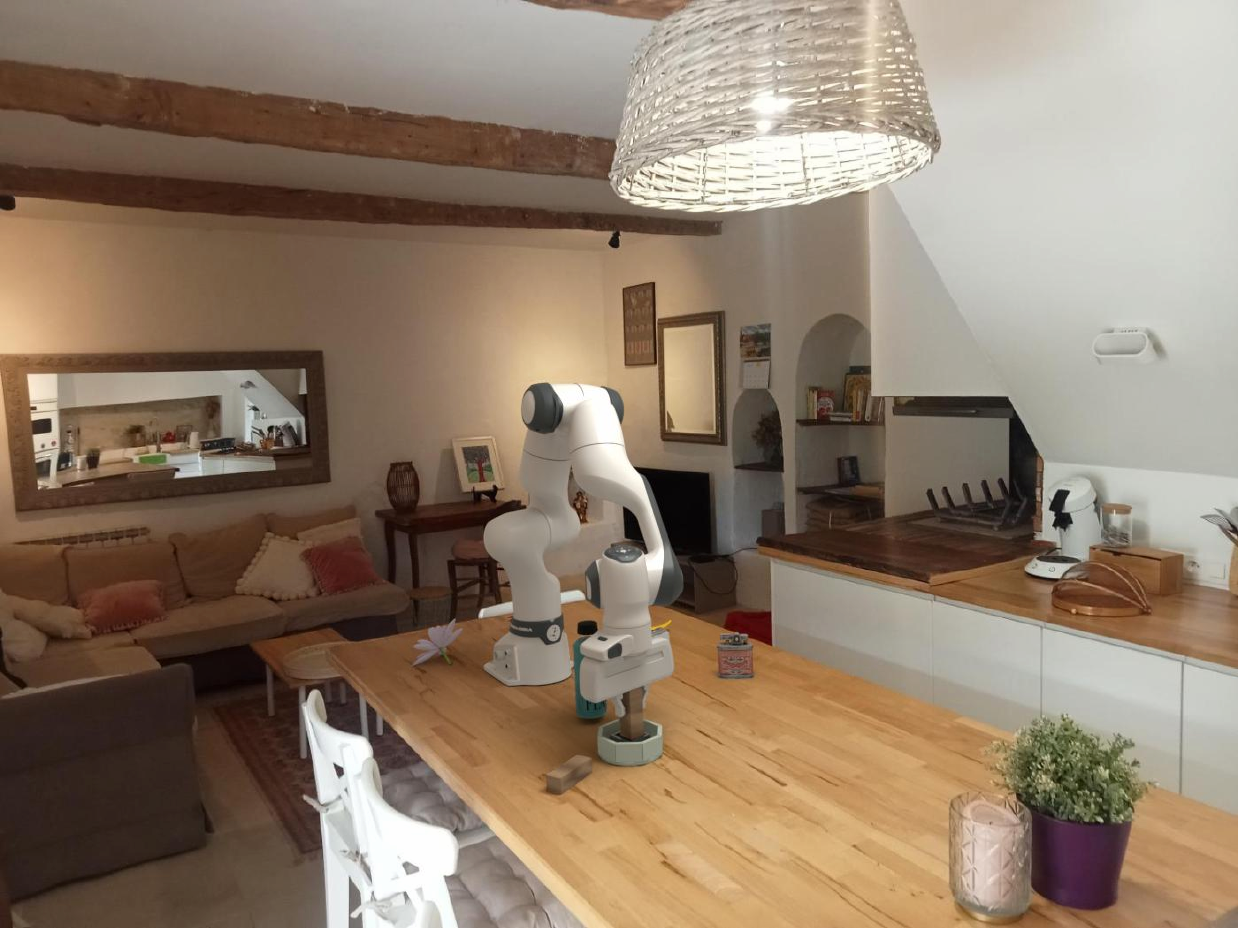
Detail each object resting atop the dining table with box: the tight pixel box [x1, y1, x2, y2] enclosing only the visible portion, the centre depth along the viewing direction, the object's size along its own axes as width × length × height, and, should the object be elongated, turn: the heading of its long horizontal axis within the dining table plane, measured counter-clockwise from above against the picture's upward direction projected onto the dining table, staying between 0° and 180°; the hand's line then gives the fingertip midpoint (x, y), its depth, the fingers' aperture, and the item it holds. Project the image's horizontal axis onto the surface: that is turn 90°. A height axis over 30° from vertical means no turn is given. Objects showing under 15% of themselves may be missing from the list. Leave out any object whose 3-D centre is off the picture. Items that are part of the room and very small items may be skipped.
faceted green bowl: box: [596, 717, 664, 767], centre depth 162 cm, size 12×12×4 cm
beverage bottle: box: [572, 619, 608, 719], centre depth 177 cm, size 6×7×20 cm
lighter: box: [716, 631, 755, 680], centre depth 199 cm, size 8×3×10 cm, turn 84°
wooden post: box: [619, 687, 644, 740], centre depth 161 cm, size 3×3×9 cm
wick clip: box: [610, 731, 651, 743], centre depth 162 cm, size 5×5×2 cm
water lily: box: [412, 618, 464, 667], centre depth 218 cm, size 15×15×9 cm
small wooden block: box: [545, 754, 593, 795], centre depth 152 cm, size 9×3×3 cm, turn 147°
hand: (630, 711), depth 162 cm, fingers closed on wooden post, 3 cm apart
